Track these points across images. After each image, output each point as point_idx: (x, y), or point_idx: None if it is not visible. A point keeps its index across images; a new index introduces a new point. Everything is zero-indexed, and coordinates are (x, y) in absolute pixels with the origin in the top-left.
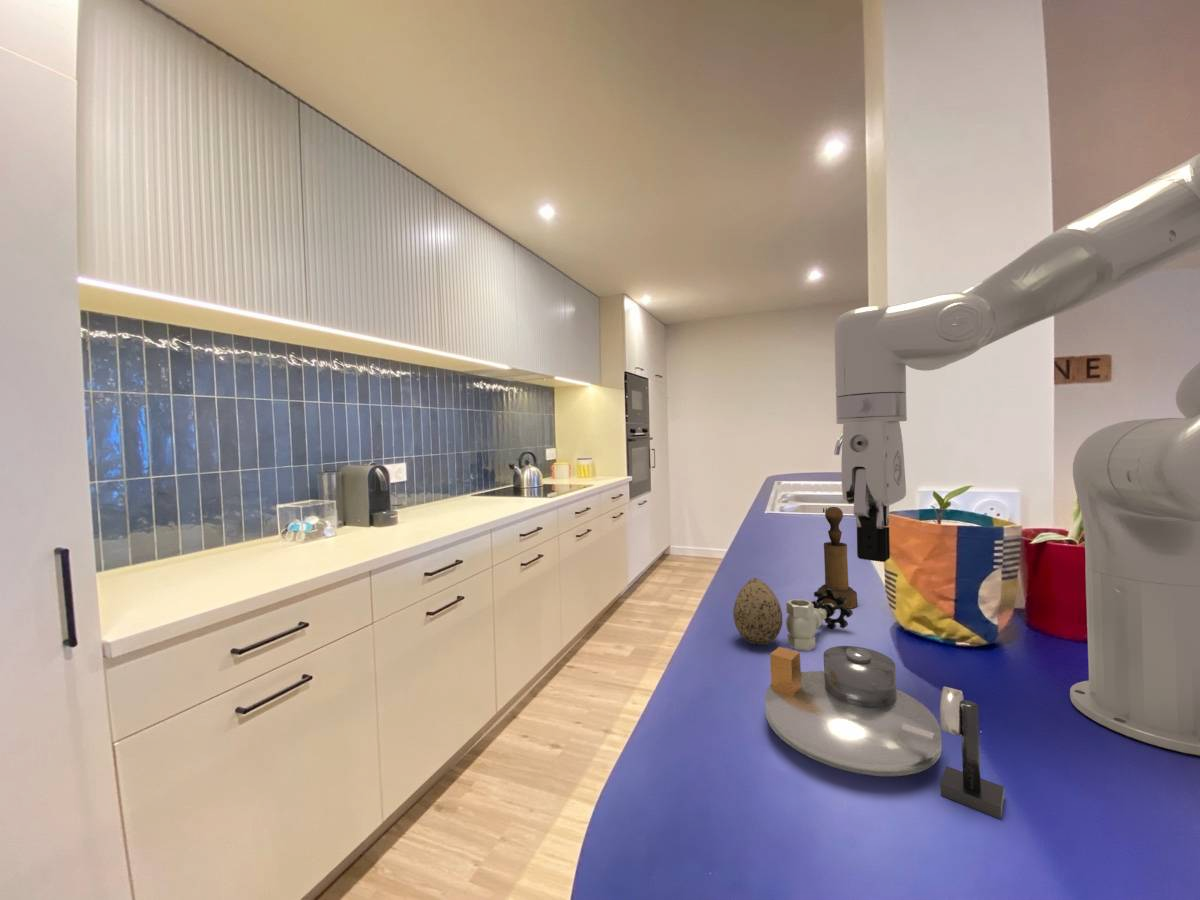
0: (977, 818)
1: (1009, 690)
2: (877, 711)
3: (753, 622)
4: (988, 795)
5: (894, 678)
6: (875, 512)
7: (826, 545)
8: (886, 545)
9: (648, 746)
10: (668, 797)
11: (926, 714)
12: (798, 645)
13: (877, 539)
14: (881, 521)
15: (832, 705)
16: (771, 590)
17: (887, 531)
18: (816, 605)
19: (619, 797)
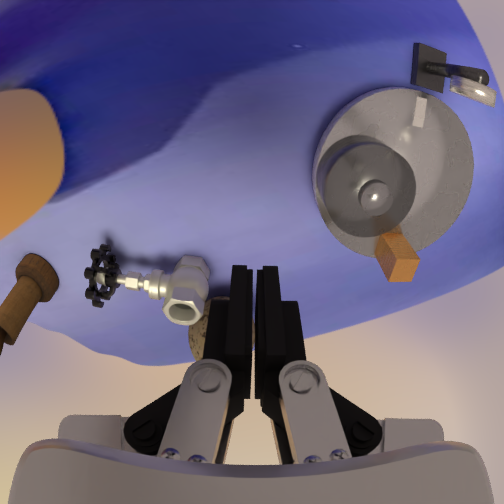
0: None
1: (147, 33)
2: (398, 151)
3: (254, 328)
4: (438, 58)
5: (379, 144)
6: (365, 434)
7: (14, 341)
8: (277, 301)
9: (450, 286)
10: (487, 252)
11: (379, 101)
12: (207, 271)
13: (296, 337)
14: (318, 392)
15: None
16: None
17: (245, 343)
18: (105, 291)
19: (489, 271)
